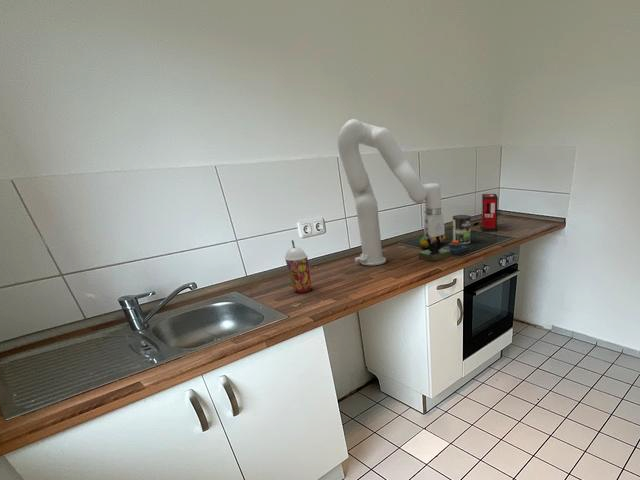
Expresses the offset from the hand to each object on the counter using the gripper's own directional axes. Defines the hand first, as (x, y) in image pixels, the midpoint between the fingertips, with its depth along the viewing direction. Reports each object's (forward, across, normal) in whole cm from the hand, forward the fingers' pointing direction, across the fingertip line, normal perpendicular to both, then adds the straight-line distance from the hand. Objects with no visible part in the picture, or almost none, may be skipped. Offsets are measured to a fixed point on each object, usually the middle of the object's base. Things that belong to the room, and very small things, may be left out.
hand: (434, 249), depth 193 cm
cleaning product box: (+4, +70, +22) cm, 73 cm away
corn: (+4, +15, +17) cm, 23 cm away
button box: (+4, +15, 0) cm, 15 cm away
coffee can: (+4, +32, +11) cm, 34 cm away
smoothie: (+4, -69, +6) cm, 69 cm away
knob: (+1, 0, 0) cm, 1 cm away
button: (0, +15, 0) cm, 15 cm away
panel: (+4, 0, 0) cm, 4 cm away
